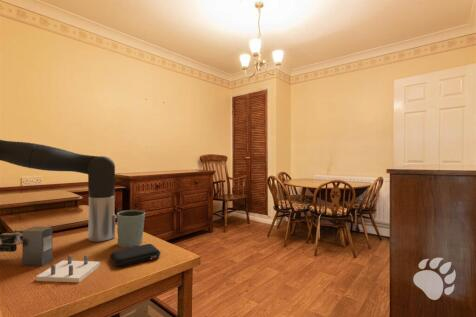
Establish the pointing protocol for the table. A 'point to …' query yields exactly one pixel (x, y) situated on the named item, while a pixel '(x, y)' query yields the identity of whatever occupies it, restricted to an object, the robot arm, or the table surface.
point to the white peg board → (69, 270)
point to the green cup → (130, 227)
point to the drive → (37, 246)
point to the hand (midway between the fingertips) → (28, 242)
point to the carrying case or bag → (134, 255)
